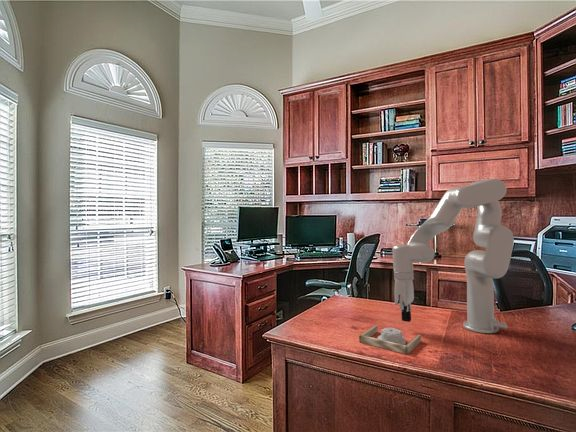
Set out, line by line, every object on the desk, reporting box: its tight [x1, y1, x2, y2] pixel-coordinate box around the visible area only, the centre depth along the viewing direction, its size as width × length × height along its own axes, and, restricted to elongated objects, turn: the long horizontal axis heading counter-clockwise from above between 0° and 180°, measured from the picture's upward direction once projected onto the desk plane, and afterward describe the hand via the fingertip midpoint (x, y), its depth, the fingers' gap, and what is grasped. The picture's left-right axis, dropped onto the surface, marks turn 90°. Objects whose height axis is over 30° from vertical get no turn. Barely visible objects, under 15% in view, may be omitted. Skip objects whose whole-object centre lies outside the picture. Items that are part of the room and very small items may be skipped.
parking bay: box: [358, 324, 422, 355], centre depth 126 cm, size 18×14×2 cm
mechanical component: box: [377, 327, 407, 345], centre depth 126 cm, size 10×4×10 cm
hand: (406, 320), depth 136 cm, fingers closed
